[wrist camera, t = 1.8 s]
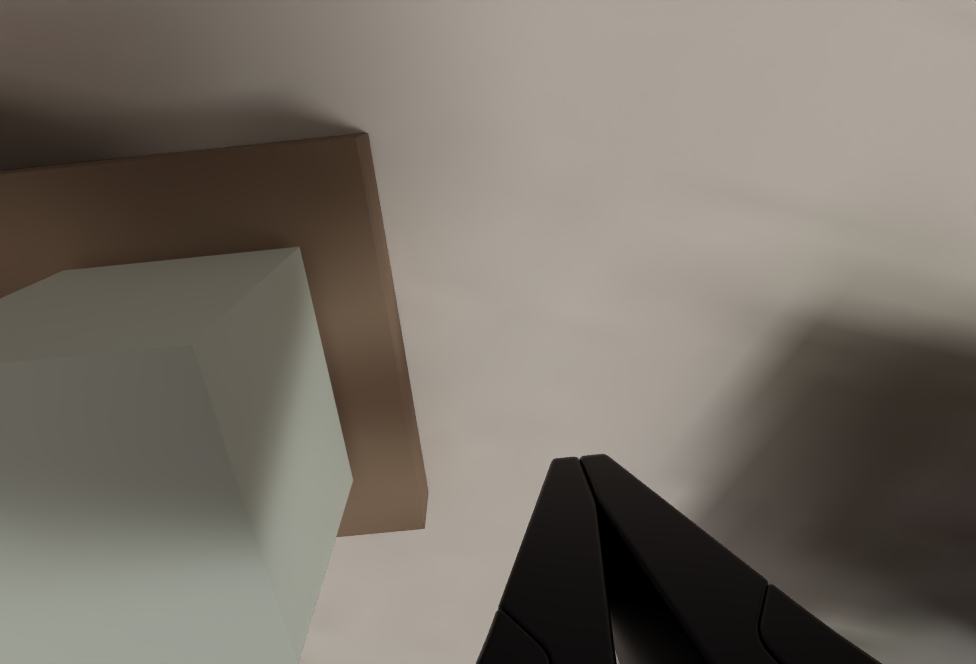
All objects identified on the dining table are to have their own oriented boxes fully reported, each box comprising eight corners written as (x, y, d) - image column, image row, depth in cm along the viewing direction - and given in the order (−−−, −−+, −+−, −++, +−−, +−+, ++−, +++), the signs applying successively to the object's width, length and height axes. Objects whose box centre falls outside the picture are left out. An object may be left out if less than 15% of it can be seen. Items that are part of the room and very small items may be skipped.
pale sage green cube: (353, 480, 14) (297, 665, 10) (155, 499, 14) (6, 692, 10) (299, 246, 12) (192, 344, 7) (63, 270, 12) (-190, 382, 7)
